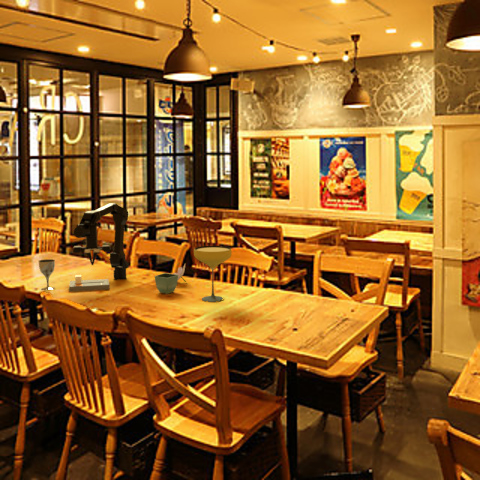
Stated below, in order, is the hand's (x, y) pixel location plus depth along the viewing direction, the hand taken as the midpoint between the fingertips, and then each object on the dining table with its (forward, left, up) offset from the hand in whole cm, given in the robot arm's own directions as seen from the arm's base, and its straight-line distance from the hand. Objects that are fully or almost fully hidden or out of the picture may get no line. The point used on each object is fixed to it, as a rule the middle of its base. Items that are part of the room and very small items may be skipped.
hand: (92, 265), depth 295 cm
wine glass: (+23, -2, -12) cm, 26 cm away
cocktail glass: (-56, +40, -12) cm, 70 cm away
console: (+2, 0, -12) cm, 12 cm away
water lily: (-45, 0, -12) cm, 47 cm away
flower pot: (-36, +21, -12) cm, 43 cm away
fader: (+7, 0, -11) cm, 13 cm away
